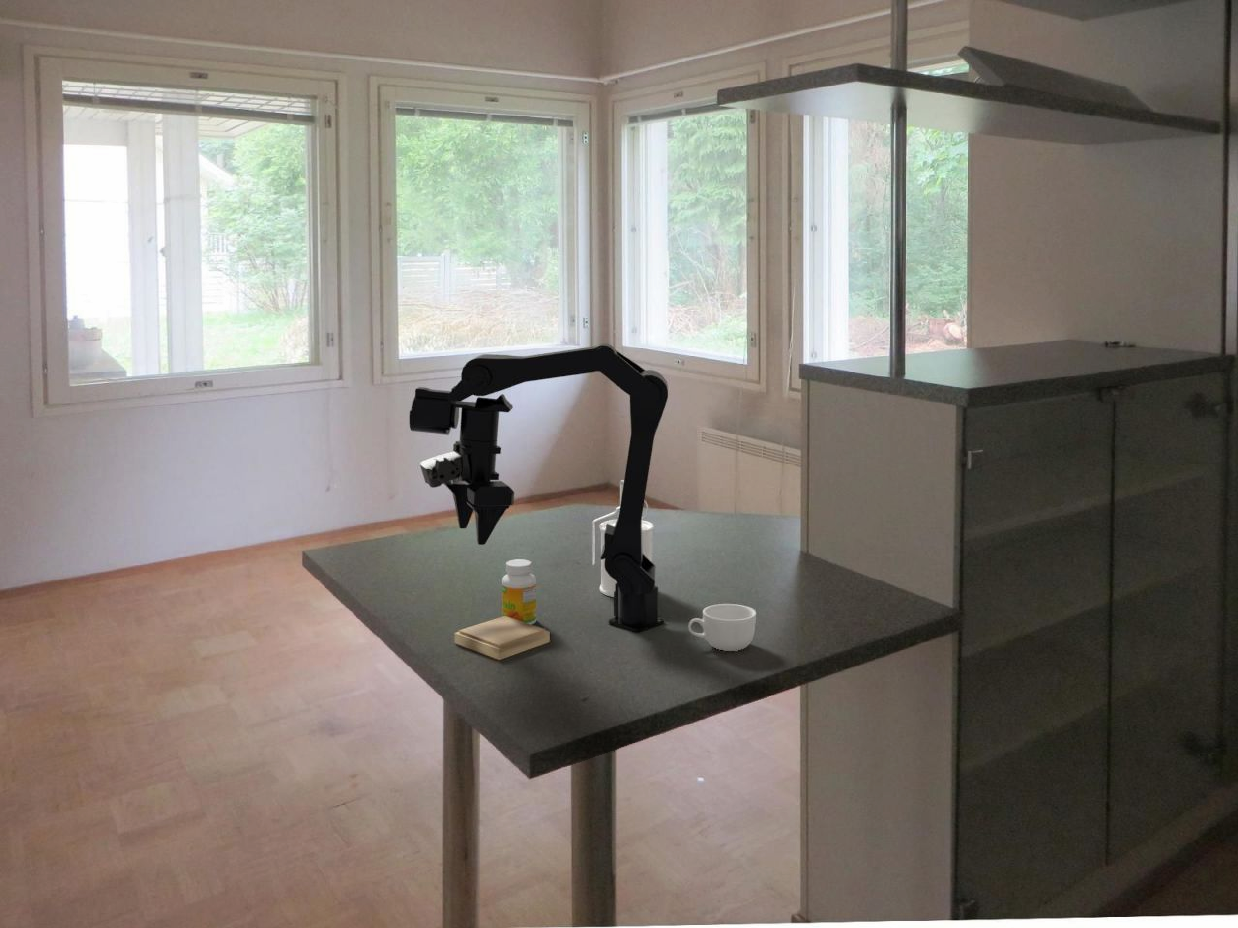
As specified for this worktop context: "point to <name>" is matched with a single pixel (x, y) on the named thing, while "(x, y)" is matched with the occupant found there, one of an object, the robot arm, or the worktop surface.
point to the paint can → (606, 581)
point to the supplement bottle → (519, 592)
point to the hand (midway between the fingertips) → (471, 536)
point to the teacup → (727, 626)
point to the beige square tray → (502, 637)
